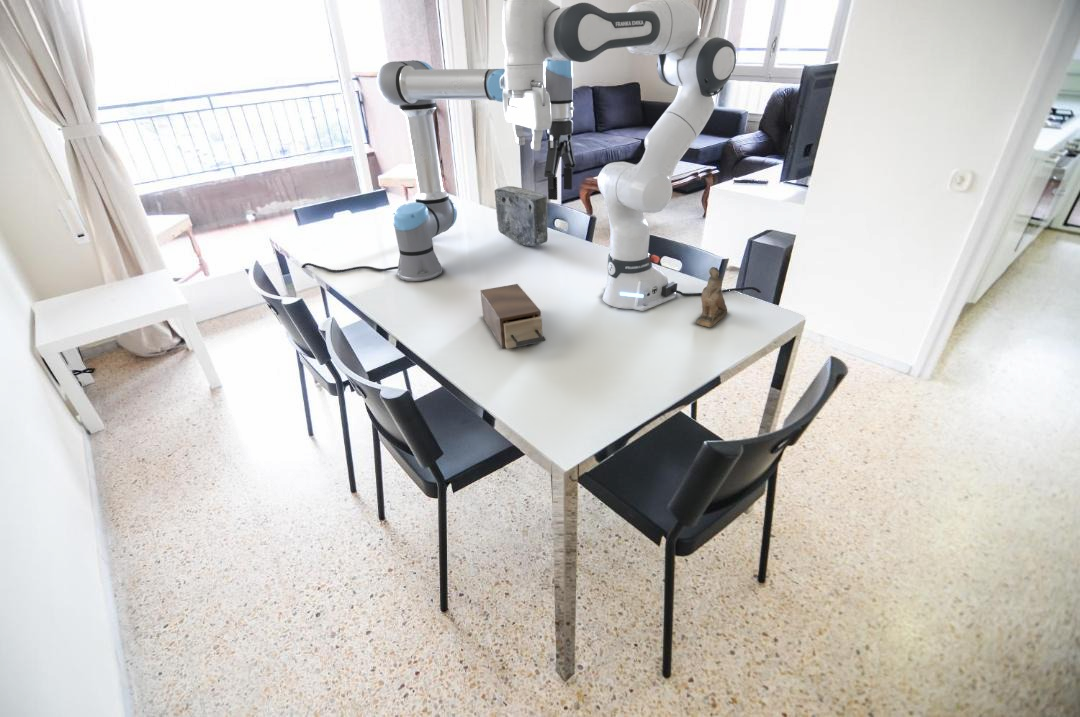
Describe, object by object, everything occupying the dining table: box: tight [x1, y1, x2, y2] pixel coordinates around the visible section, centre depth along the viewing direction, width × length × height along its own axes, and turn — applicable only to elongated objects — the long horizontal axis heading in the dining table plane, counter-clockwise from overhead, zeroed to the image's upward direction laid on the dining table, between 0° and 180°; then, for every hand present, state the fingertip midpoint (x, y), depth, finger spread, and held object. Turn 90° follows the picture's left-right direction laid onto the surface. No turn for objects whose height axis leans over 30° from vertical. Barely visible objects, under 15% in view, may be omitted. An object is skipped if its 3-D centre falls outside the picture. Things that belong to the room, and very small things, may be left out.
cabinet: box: [479, 283, 542, 349], centre depth 136 cm, size 19×11×9 cm, turn 20°
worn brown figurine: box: [695, 266, 728, 328], centre depth 135 cm, size 12×6×18 cm, turn 136°
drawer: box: [503, 315, 546, 350], centre depth 132 cm, size 23×10×7 cm, turn 20°
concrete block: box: [494, 185, 549, 247], centre depth 196 cm, size 27×9×20 cm, turn 36°
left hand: (560, 194), depth 156 cm, fingers open, 13 cm apart
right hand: (528, 147), depth 117 cm, fingers open, 8 cm apart
